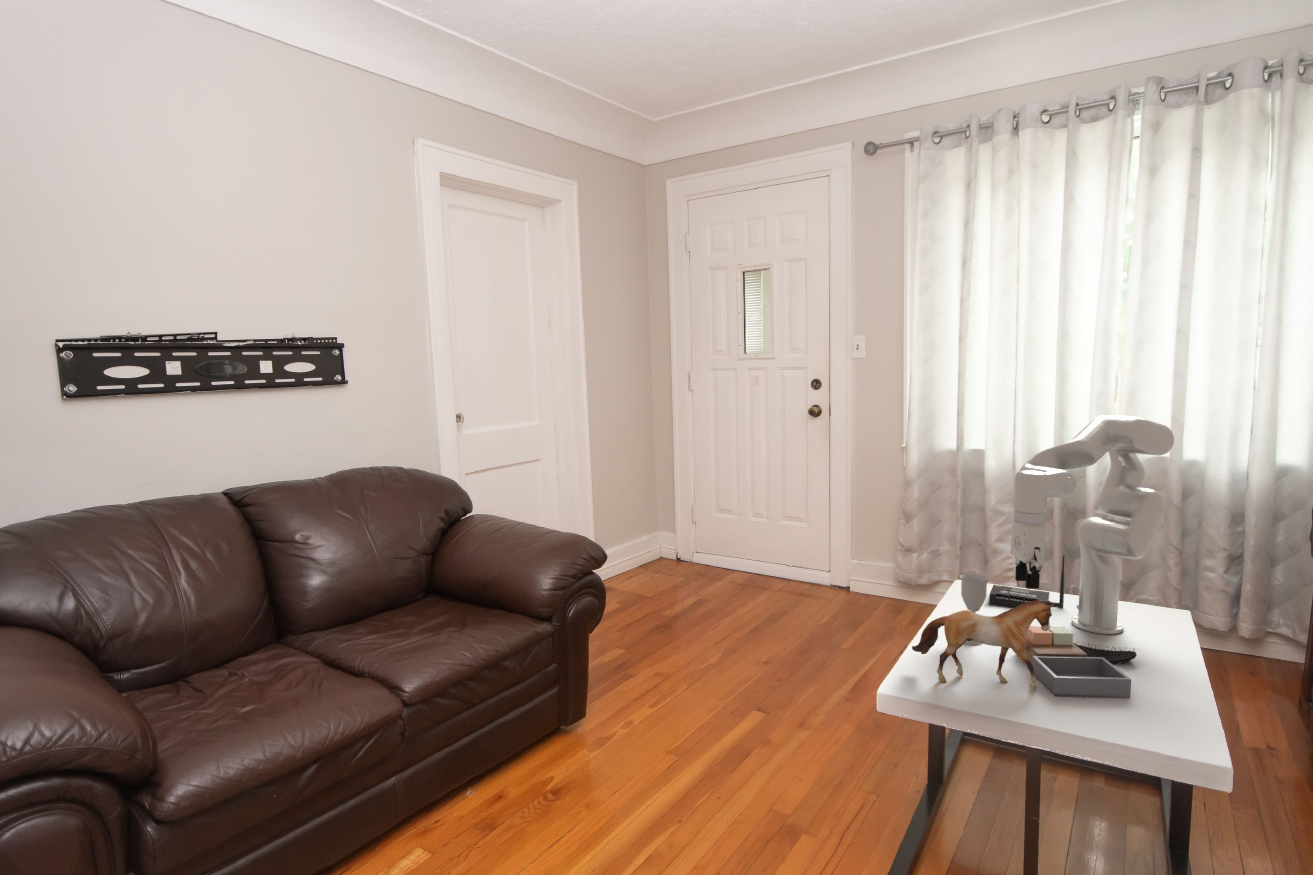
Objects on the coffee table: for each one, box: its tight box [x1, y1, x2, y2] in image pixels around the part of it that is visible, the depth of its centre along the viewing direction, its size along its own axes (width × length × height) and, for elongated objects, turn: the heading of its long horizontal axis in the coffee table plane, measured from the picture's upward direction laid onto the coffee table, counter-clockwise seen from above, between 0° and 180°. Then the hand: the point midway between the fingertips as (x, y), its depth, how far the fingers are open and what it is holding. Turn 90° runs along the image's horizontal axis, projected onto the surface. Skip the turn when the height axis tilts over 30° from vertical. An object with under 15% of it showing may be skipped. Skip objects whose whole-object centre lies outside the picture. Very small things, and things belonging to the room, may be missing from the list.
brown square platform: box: [1025, 640, 1087, 663], centre depth 178 cm, size 12×12×5 cm
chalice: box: [959, 573, 990, 646], centre depth 192 cm, size 7×7×18 cm
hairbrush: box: [1073, 641, 1138, 665], centre depth 185 cm, size 8×4×25 cm
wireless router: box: [988, 554, 1066, 609], centre depth 220 cm, size 20×14×17 cm
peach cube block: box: [1027, 625, 1052, 645], centre depth 180 cm, size 4×4×3 cm
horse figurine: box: [911, 600, 1055, 692], centre depth 168 cm, size 31×8×21 cm, turn 72°
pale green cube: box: [1048, 626, 1074, 645], centre depth 180 cm, size 4×4×3 cm
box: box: [1032, 656, 1132, 699], centre depth 166 cm, size 12×16×4 cm
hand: (1027, 583), depth 187 cm, fingers open, 5 cm apart
